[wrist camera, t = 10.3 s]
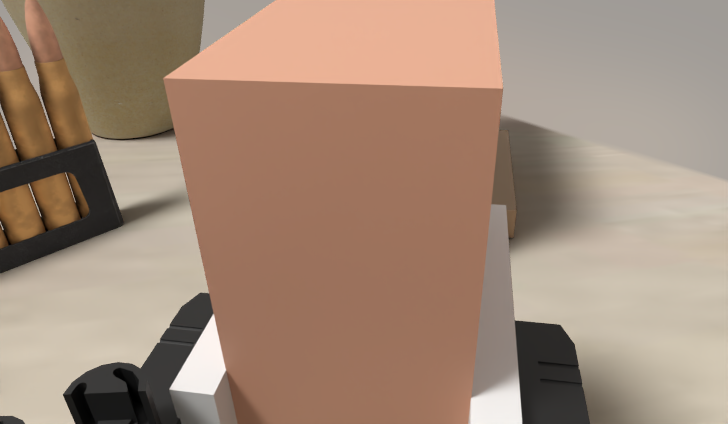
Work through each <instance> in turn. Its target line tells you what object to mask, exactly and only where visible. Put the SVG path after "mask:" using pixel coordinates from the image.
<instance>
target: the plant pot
mask: <svg viewBox="0 0 728 424" xmlns="http://www.w3.org/2000/svg"><path fill="white" fill-rule="evenodd" d="M2 2H3V4H4V6H5V7H6V9H7V11H8V13H9V14H10V16H11V17H12V19H13V21H14V23H15V24H16V26H17V28H18V29H19V31H20V32H21V34H22V36H23V37H24V39H25V41H26V42H27V44H28V45H29V47H30V49H31V46H30V43H29V38H28V34H27V29H26V21H25V0H2ZM37 2H38V3H39V4H40V6H41V7H42V9H43V11H44V12H45V14H46V16H47V18H48V20H49V22H50V24H51V26H52V28H53V30H54V33H55V35H56V37H57V40H58V43H59V46H60V49H61V52H62V55H63V57H64V59H65V62H66V65H67V68H68V70H69V73H70V75H71V77H72V79H73V81H74V83H75V85H76V87H77V89H78V92H79V95H80V98H81V101H82V105H83V108H84V111H85V115H86V118H87V121H88V124H89V128H90V131H91V133H93V134H95V135H97V136H101V137H105V138H114V139H128V138H138V137H145V136H150V135H154V134H158V133H162V132H164V131H167V130H170V129H172V128H174V126H173V122H172V117H171V112H170V108H169V103H168V99H167V94H166V89H165V85H164V80H163V78H164V77H166V76H167V75H169V74H170V73H171V72H173V71H174V70H176V69H177V68H179V67H180V66H182V65H183V64H184V63H186V62H187V61H189V60H190V59H192V58H193V57H195V56H196V55H197V54H199V51H200V43H201V34H202V26H203V14H204V2H205V0H37Z"/></svg>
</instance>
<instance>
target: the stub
mask: <svg viewBox="0 0 728 424" xmlns="http://www.w3.org/2000/svg"><path fill="white" fill-rule="evenodd" d="M163 80H164V85H165V89H166V94H167V99H168V103H169V108H170V112H171V117H172V122H173V126H174V131H175V136H176V140H177V145H178V150H179V154H180V159H181V164H182V168H183V173H184V178H185V182H186V187H187V192H188V196H189V201H190V206H191V210H192V215H193V220H194V224H195V229H196V234H197V238H198V243H199V248H200V252H201V257H202V262H203V266H204V271H205V276H206V280H207V285H208V290H209V294H210V299H211V303H212V308H213V313H214V317H215V322H216V327H217V331H218V336H219V341H220V345H221V350H222V355H223V359H224V364H225V369H226V372H227V377H228V381H229V386H230V391H231V395H232V400H233V405H234V409H235V414H236V419H237V423H238V424H468V421H469V411H470V401H471V397H472V387H473V377H474V367H475V358H476V348H477V338H478V328H479V319H480V309H481V299H482V289H483V280H484V270H485V260H486V250H487V241H488V231H489V221H490V211H491V202H492V192H493V182H494V172H495V163H496V153H497V143H498V133H499V124H500V114H501V104H502V94H503V83H502V73H501V63H500V53H499V44H498V34H497V24H496V14H495V4H494V0H276V1H274V2H273V3H271V4H270V5H268V6H267V7H266V8H264V9H262V10H261V11H260V12H258V13H257V14H255V15H254V16H252V17H251V18H250V19H248V20H247V21H245V22H244V23H242V24H241V25H239V26H238V27H237V28H235V29H234V30H232V31H231V32H229V33H228V34H226V35H225V36H223V37H222V38H221V39H219V40H218V41H216V42H215V43H213V44H212V45H210V46H209V47H208V48H206V49H205V50H203V51H202V52H200V53H199V54H197V55H196V56H195V57H193V58H192V59H190V60H189V61H187V62H186V63H184V64H183V65H182V66H180V67H179V68H177V69H176V70H174V71H173V72H171V73H170V74H169V75H167V76H166V77H164V78H163Z"/></svg>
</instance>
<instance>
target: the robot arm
mask: <svg viewBox="0 0 728 424" xmlns="http://www.w3.org/2000/svg"><path fill="white" fill-rule="evenodd" d="M578 366H579V365H578V360H577V355H576V350H575V344H574V343H573V342H572V340H571V339H570V338H569V336H568V335H567V333H566V332H565V331H564V329H563V328H562V327H561V325H557V324H546V323H535V322H525V321H515V318H514V305H513V291H512V278H511V265H510V251H509V238H508V224H507V211H506V205H496V204H491V211H490V221H489V231H488V241H487V250H486V260H485V270H484V280H483V289H482V299H481V309H480V319H479V328H478V338H477V348H476V358H475V367H474V377H473V387H472V397H471V401H470V411H469V421H468V424H590V422H589V416H588V411H587V406H586V401H585V396H584V391H583V388H582V380H581V375H580V370H579V369H578ZM63 396H64V398H65V401H66V403H67V405H68V408H69V410H70V412H71V414H72V417H73V419H74V421H75V424H238V423H237V419H236V414H235V409H234V405H233V400H232V395H231V391H230V386H229V381H228V377H227V372H226V369H225V364H224V359H223V355H222V350H221V345H220V341H219V336H218V331H217V327H216V322H215V317H214V313H213V308H212V303H211V299H210V294H208V293H199V294H198V295H197V296H195V297H194V298H193V299H192V300H190V301H189V302H188V303H186V304H185V305H184V306H182V307H181V309H180V310H179V312H178V313H177V315H176V316H175V318H174V319H173V321H172V322H171V324H170V327H169V328H167V330H166V331H165V333H164V334H163V336H162V337H161V339H160V343H157V345H156V346H155V348H154V349H153V351H152V352H151V354H150V355H149V357H148V358H147V360H146V361H145V363H144V364H143V366H142V367H141V369H140V368H138V367H137V366H135V365H133V364H129V363H120V362H117V363H111V364H106V365H101V366H99V367H97V368H94V369H92V370H90V371H87V372H86V373H84V374H83V375H82V376H80V377H79V378H78V379H76V380H75V381H73V382H72V383H71V385H70V386H69V387H68V389H67V390H66V391H65V393H64V394H63ZM0 424H25V423H24V422H23V420H20V419H18V418H16V417H13V416H0Z"/></svg>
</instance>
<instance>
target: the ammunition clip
mask: <svg viewBox="0 0 728 424" xmlns="http://www.w3.org/2000/svg"><path fill="white" fill-rule="evenodd" d="M25 21H26V29H27V34H28V38H29V43H30V46H31V50H32V53H33V56H34V59H35V66H36V69H37V73H38V76H39V84H40V93H41V97H42V100H43V103H44V106H45V109H46V112H47V115H48V118H49V121H50V124H51V127H52V130H53V133H54V137H55V138H54V139H53V136H52V133H51V130H50V127H49V124H48V122H47V119H46V116H45V113H44V110H43V107H42V104H41V101H40V99H39V96H38V94H37V92H36V91H35V89H34V87H33V85H32V84H31V82H30V80H29V78H28V75H27V73H26V70H25V67H24V65H23V64H22V61H21V58H20V56H19V53H18V50H17V48H16V45H15V43H14V41H13V39H12V37H11V35H10V32H9V31H8V29H7V27H6V25H5V23H4V22H3V20H2V19H1V17H0V104H1V107H2V110H3V113H4V116H5V118H6V121H7V124H8V126H9V129H10V132H11V135H12V137H13V140H14V143H15V145H16V148H17V149H14V147H13V144H12V142H11V139H10V136H9V134H8V131H7V129H6V126H5V123H4V121H3V118H2V116H1V113H0V222H1V224H2V226H3V229H4V230H2V227H1V225H0V273H3V272H5V271H8V270H10V269H13V268H15V267H18V266H21V265H23V264H26V263H28V262H31V261H33V260H36V259H38V258H41V257H44V256H46V255H49V254H51V253H54V252H56V251H59V250H61V249H64V248H67V247H69V246H72V245H74V244H77V243H79V242H82V241H85V240H87V239H90V238H92V237H95V236H97V235H100V234H102V233H105V232H108V231H110V230H113V229H115V228H118V227H120V226H122V224H123V223H124V221H123V218H122V215H121V213H120V210H119V207H118V204H117V201H116V199H115V196H114V193H113V190H112V187H111V184H110V182H109V179H108V176H107V173H106V170H105V168H104V165H103V162H102V159H101V156H100V154H99V151H98V148H97V145H96V142H95V141H94V140H93V138H92V134H91V131H90V128H89V124H88V121H87V118H86V115H85V111H84V108H83V105H82V101H81V98H80V95H79V92H78V89H77V87H76V85H75V83H74V81H73V79H72V77H71V75H70V73H69V70H68V68H67V65H66V62H65V59H64V57H63V55H62V52H61V49H60V46H59V43H58V40H57V37H56V35H55V33H54V30H53V28H52V26H51V24H50V22H49V20H48V18H47V16H46V14H45V12H44V11H43V9H42V7H41V6H40V4H39V3H38V2H37V0H25ZM65 172H66V173H67V176H68V179H69V183H70V186H71V189H72V192H73V195H74V198H75V200H74V198H73V195H72V192H71V189H70V186H69V183H68V180H67V177H66V174H65ZM28 183H29V184H30V186H31V189H32V192H33V195H34V197H35V200H36V203H37V205H38V208H39V211H40V214H41V216H42V217H40V214H39V212H38V209H37V207H36V204H35V201H34V199H33V196H32V194H31V191H30V188H29V186H28ZM75 201H76V203H75Z"/></svg>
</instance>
